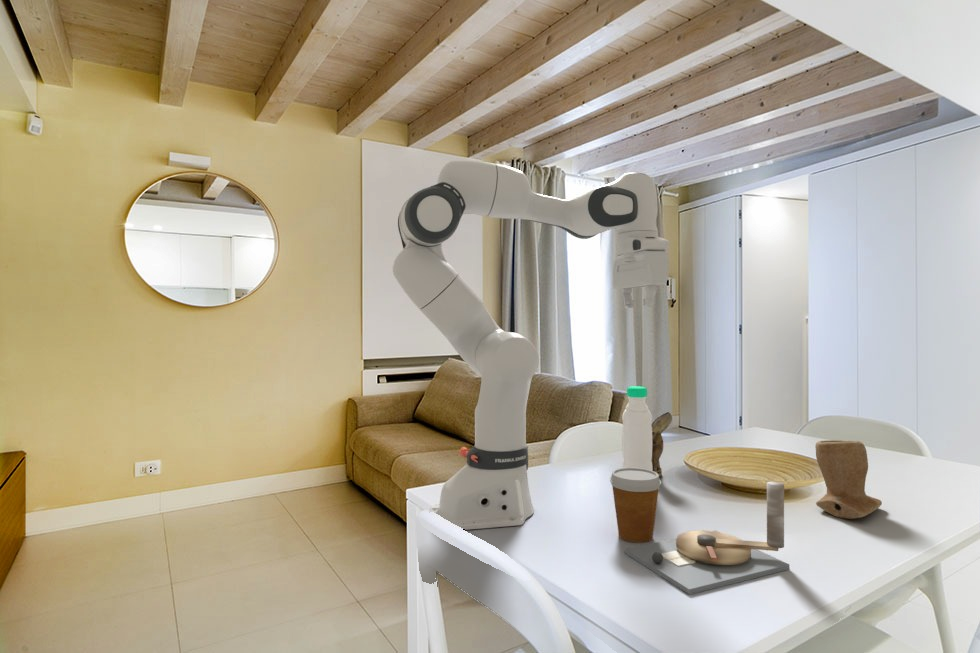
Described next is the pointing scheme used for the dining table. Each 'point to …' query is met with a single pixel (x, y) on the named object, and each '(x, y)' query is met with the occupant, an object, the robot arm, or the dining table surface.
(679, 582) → the base board
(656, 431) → the stone sculpture
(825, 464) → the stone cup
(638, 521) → the disposable coffee cup
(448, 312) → the robot arm
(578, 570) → the dining table surface
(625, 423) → the water bottle
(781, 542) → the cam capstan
